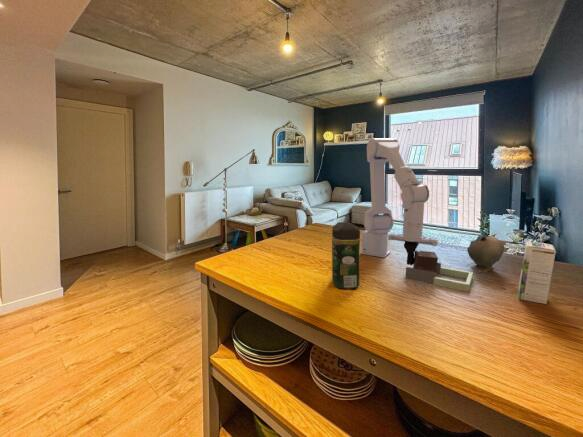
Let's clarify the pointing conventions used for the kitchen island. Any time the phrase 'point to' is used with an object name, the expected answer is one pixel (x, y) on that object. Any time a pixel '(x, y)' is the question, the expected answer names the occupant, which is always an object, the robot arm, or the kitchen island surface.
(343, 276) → the coffee jar
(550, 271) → the syrup box
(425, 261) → the box
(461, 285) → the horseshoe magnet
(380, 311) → the kitchen island surface
